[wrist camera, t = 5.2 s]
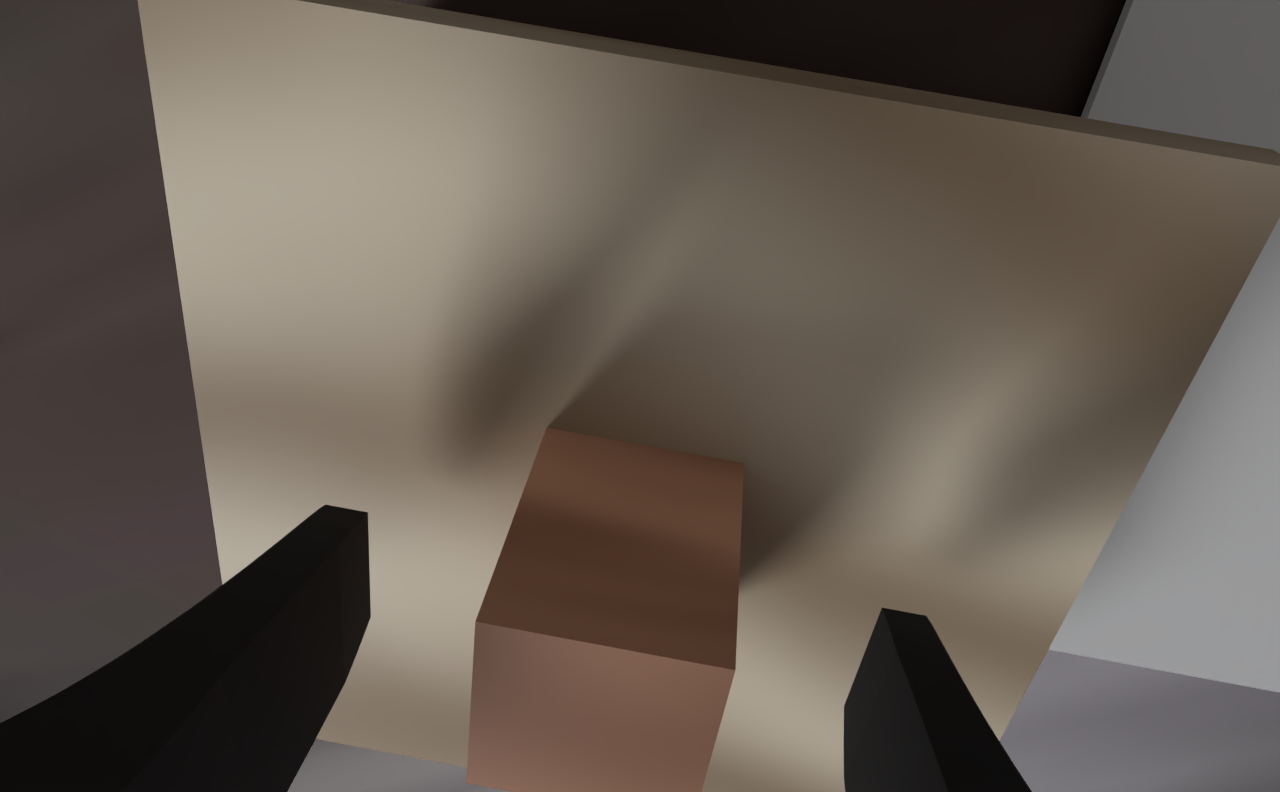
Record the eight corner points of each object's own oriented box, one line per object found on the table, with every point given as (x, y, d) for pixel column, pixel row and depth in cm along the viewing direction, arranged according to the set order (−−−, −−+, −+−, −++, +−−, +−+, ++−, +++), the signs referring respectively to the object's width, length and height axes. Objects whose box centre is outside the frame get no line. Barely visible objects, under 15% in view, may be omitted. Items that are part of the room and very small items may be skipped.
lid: (931, 820, 19) (974, 1093, 15) (261, 693, 19) (126, 924, 15) (1273, 149, 11) (1546, 330, 7) (169, -37, 12) (-141, 39, 8)
